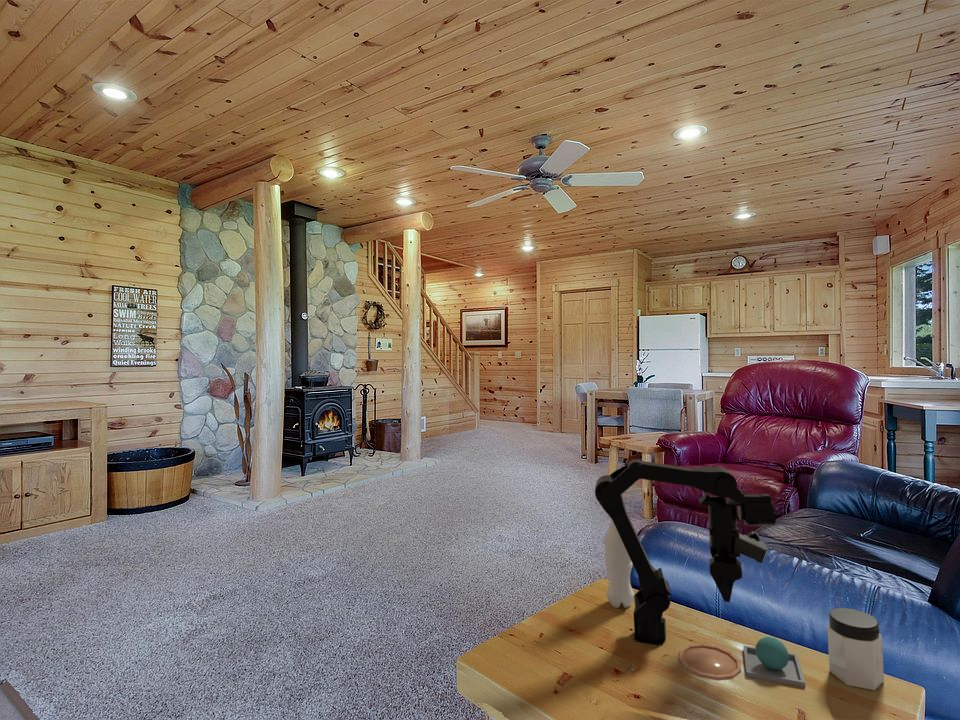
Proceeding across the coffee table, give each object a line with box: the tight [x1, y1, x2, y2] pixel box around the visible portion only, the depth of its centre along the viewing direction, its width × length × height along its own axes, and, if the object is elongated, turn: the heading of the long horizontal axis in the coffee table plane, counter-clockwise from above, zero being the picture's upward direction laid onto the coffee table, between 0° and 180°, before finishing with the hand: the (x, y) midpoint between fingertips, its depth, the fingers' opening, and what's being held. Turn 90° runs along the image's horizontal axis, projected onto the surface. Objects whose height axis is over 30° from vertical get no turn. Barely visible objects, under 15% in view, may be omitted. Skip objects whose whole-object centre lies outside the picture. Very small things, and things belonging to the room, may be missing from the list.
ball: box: [755, 636, 789, 670], centre depth 106 cm, size 6×6×6 cm
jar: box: [827, 607, 885, 691], centre depth 103 cm, size 9×8×12 cm
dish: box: [678, 643, 742, 681], centre depth 110 cm, size 12×12×1 cm
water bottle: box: [603, 516, 635, 609], centre depth 138 cm, size 7×7×25 cm
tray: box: [743, 645, 806, 688], centre depth 106 cm, size 10×10×2 cm
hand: (726, 592), depth 116 cm, fingers open, 9 cm apart
